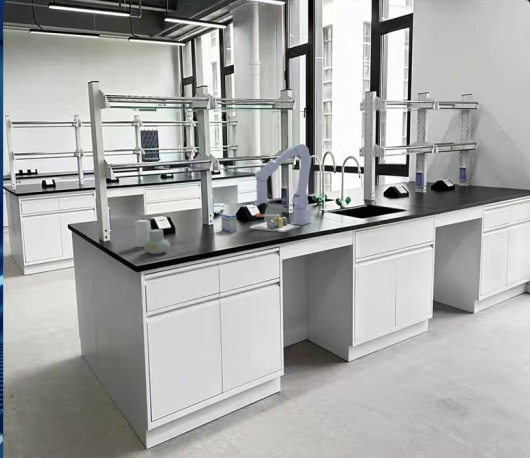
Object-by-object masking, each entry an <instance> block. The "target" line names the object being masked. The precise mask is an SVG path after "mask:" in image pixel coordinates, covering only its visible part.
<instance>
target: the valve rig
mask: <svg viewBox="0 0 530 458" xmlns="http://www.w3.org/2000/svg"><path fill="white" fill-rule="evenodd" d="M300 227H301V225H298V224H291V223H290V224H289V220H288V218H287V217H286V216H282V217H281V216H280V217H271V220H268V221H266V222H261V223H257V224H254V225H250V226H249V229H251V230H252V229H253V230H258V231H269V232H275V231H277V232H276V233H283V232H284V233H286V232H290V231H293V230H296V229H300Z"/></svg>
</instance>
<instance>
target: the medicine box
mask: <svg viewBox="0 0 530 458" xmlns="http://www.w3.org/2000/svg"><path fill="white" fill-rule="evenodd" d="M220 215H221V216H220V217H221V230H222V232H223V231H224V232H227V233H236V232H238V231H237V230H238V226H237V225H238V223H237V215H235V214H230V213H221V214H220Z"/></svg>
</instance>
